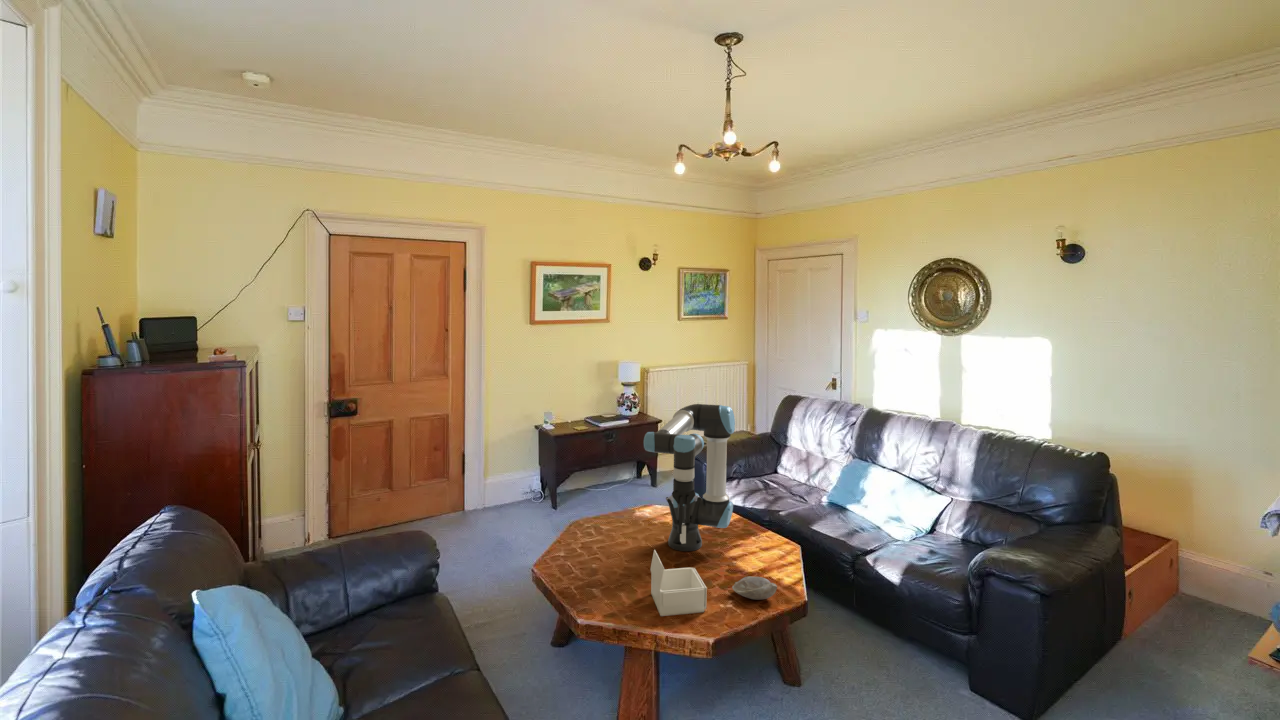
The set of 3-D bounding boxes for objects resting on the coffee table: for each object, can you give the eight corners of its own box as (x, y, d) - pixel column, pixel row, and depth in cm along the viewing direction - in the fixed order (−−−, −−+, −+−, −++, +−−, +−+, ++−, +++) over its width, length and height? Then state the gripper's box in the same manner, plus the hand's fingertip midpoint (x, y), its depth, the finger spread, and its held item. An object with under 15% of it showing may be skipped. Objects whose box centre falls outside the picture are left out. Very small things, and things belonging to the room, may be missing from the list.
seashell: (726, 581, 225) (755, 570, 216) (746, 579, 233) (775, 568, 223) (733, 607, 221) (763, 596, 212) (754, 604, 228) (783, 594, 219)
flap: (655, 549, 223) (654, 549, 223) (664, 568, 208) (663, 568, 208) (651, 570, 224) (650, 570, 224) (660, 590, 209) (659, 590, 208)
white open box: (693, 588, 229) (694, 566, 228) (707, 612, 212) (707, 588, 211) (650, 592, 226) (651, 570, 225) (660, 617, 209) (661, 592, 208)
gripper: (698, 474, 219) (697, 536, 221) (663, 476, 216) (663, 539, 219) (704, 480, 211) (703, 544, 214) (668, 482, 209) (667, 547, 211)
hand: (682, 541), depth 216 cm, fingers closed
